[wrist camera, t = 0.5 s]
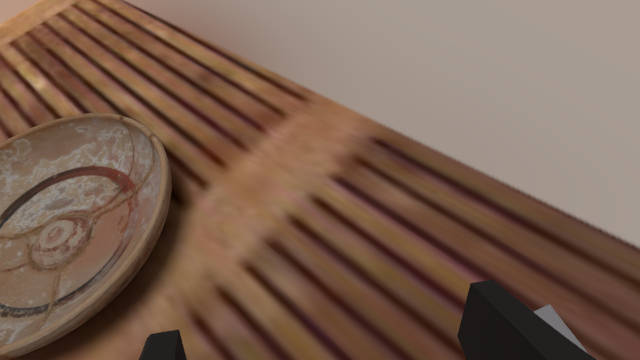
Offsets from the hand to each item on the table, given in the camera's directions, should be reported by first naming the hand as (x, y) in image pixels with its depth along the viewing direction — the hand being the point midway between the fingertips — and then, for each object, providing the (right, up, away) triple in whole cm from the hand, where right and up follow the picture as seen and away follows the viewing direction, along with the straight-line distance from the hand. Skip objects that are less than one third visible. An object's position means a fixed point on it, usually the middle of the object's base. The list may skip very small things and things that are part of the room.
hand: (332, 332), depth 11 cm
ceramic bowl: (-23, -2, +29) cm, 37 cm away
